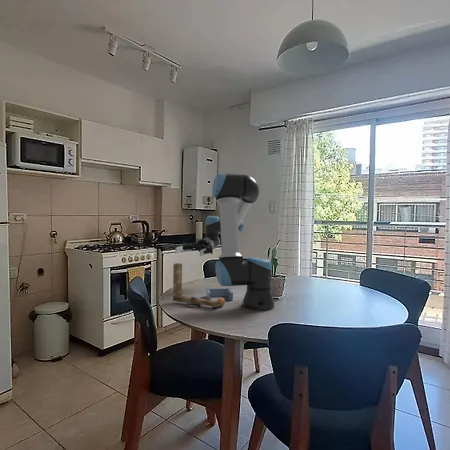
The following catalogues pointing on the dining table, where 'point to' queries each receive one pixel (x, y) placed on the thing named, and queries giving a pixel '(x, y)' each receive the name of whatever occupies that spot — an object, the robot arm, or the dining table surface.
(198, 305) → the pivot base
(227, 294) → the blue-gray u-shaped bracket
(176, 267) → the lever
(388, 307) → the dining table surface
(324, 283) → the dining table surface
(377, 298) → the dining table surface
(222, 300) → the ball
